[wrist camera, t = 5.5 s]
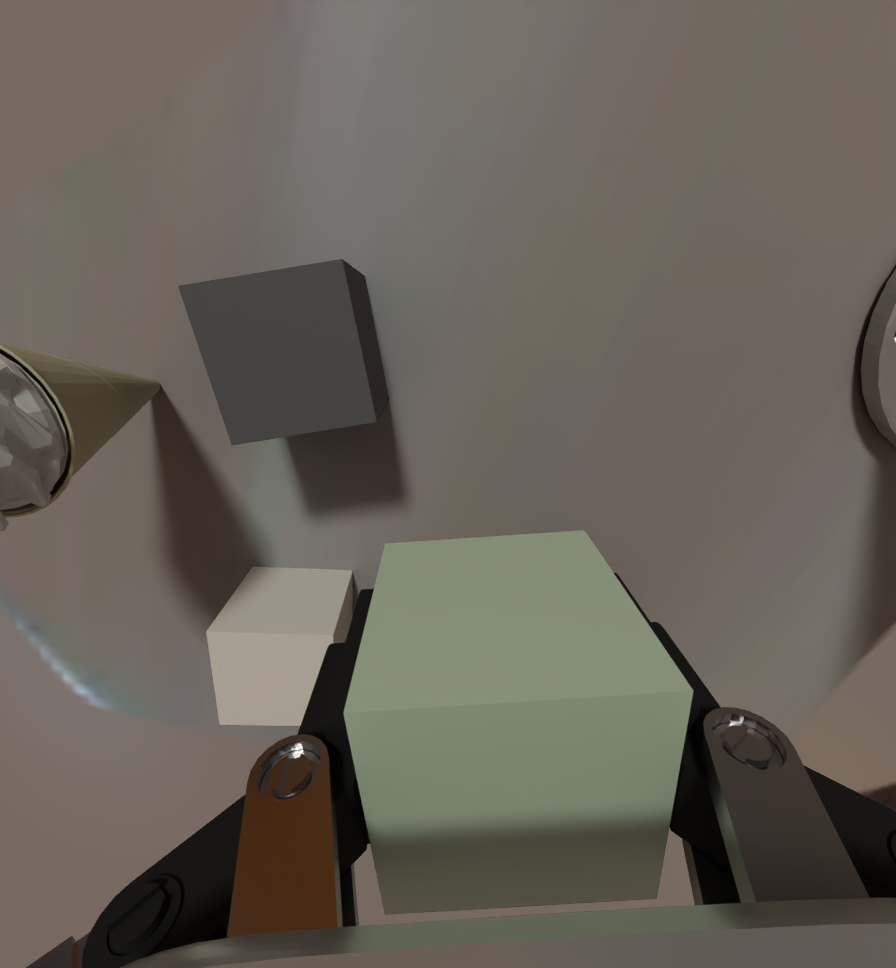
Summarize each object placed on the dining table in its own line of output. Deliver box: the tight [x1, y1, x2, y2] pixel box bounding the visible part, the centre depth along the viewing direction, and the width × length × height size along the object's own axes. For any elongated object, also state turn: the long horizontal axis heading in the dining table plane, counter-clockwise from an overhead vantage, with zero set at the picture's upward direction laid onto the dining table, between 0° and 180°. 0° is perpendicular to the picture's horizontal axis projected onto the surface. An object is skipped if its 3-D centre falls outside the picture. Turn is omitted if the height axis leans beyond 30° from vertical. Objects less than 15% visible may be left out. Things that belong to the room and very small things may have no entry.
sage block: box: [343, 530, 693, 915], centre depth 9 cm, size 5×5×5 cm
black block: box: [178, 259, 389, 445], centre depth 16 cm, size 5×5×5 cm
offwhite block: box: [206, 567, 353, 726], centre depth 21 cm, size 5×5×5 cm
